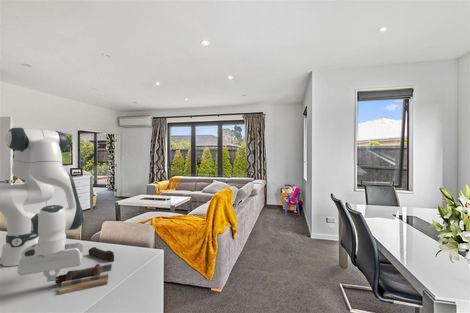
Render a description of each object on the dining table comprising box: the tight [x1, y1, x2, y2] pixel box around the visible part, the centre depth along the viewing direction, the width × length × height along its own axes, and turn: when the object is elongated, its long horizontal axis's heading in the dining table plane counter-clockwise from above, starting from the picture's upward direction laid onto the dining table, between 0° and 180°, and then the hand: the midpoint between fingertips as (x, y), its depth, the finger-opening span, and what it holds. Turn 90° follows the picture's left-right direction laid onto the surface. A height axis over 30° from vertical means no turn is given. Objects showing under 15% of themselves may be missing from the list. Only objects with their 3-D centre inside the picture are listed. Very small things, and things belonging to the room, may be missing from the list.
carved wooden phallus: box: [88, 246, 115, 262], centre depth 112 cm, size 19×4×5 cm, turn 60°
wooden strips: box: [58, 263, 113, 295], centre depth 92 cm, size 16×16×2 cm
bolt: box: [54, 263, 101, 285], centre depth 91 cm, size 6×5×15 cm
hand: (52, 280), depth 87 cm, fingers closed
